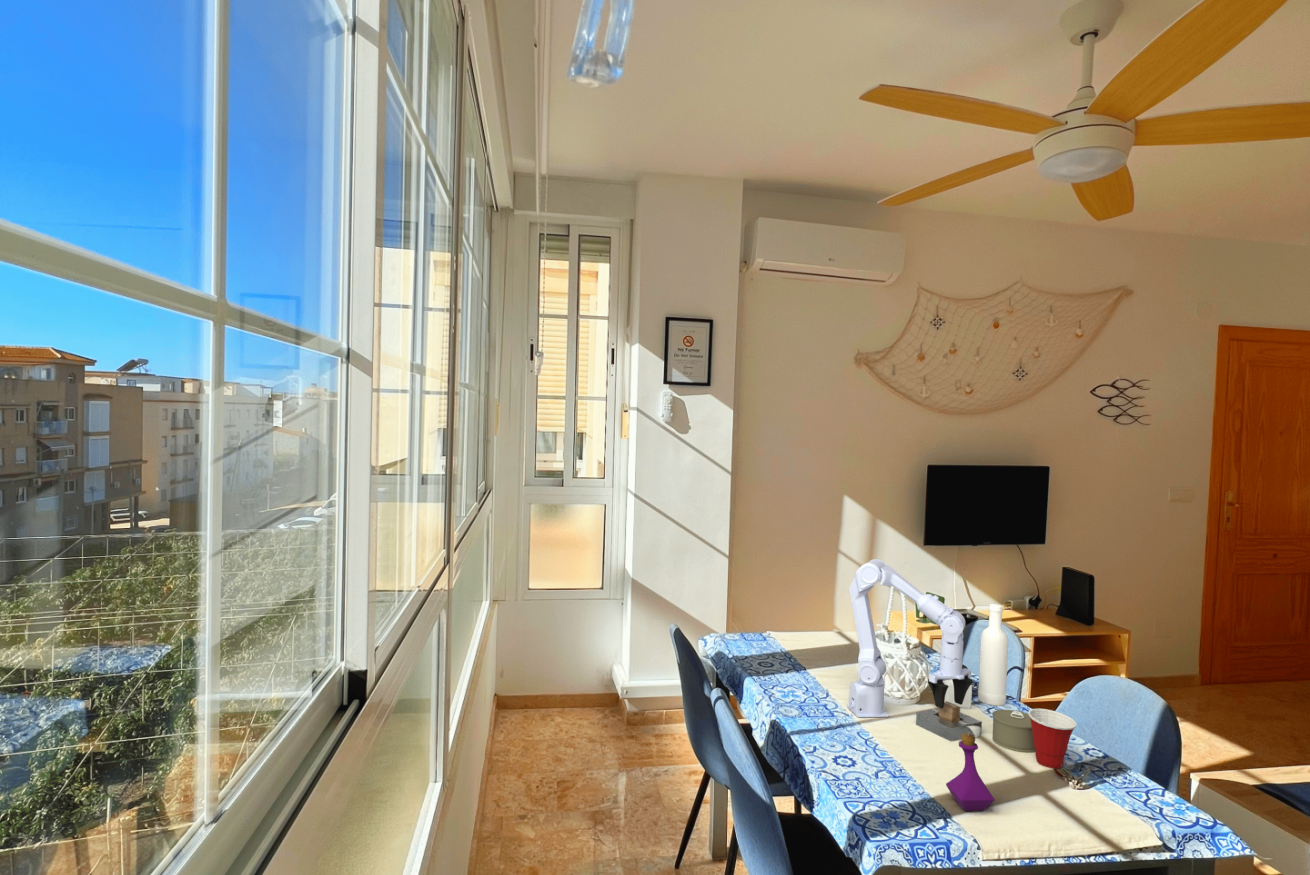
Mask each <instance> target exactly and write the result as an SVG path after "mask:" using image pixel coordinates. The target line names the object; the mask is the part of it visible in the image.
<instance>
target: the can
mask: <svg viewBox="0 0 1310 875" xmlns="http://www.w3.org/2000/svg"><path fill="white" fill-rule="evenodd" d="M1028 713H1029V712H1024V711H1019V710H1014V709H999V710H995V711H993V712H992V742H993V743H995V744H996V745H997V746H999V747H1001V748H1004V749H1006V750H1009V751H1013V752H1017V753H1025V754H1027V753H1029V754H1032V753H1035V748H1034V741H1033V733H1032V726H1031V720H1030V716H1029V714H1028Z"/></svg>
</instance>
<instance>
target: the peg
mask: <svg viewBox="0 0 1310 875" xmlns="http://www.w3.org/2000/svg"><path fill="white" fill-rule="evenodd" d="M938 708H939V707H938ZM960 712H961V708H960V707H959V706H957V705H955V704H952V703H950V702H947V701H946V702H944V706H943V708H939V717H941V718H943V719H945V720H947V721H950V722H952V723H953V722H957V721H960Z"/></svg>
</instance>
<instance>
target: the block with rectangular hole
mask: <svg viewBox="0 0 1310 875" xmlns="http://www.w3.org/2000/svg"><path fill="white" fill-rule="evenodd" d="M915 716H916V717H915V725H916V726H917V727H919V728H922V729H924V730H926V731H928V732H929V733H930V732H931V733H932V734H934V735H937V736H939V737H940V738H943V739H944V740H947V741H949V742H955V741H959V740H962V738H961V735H962V734H965V733H968V730H967V729H966V726H979V727H980V728H981V731H980V735H982V730H983V729H982V726H983V721H982V720H980V719H977V718H974V717H972V716H969V715H967V714H965V713H963V712H961V711H960V721H957V722H953V723H952V722H950V721H947V720H945V719H943V718H941V717H939V707H937V708H931V709H926V710H922V711H917V712H916V714H915ZM969 734H972V735H973V736H975V735H974V734H973V732H972V730H971V731H970V732H969Z"/></svg>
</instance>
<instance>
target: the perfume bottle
mask: <svg viewBox="0 0 1310 875" xmlns="http://www.w3.org/2000/svg"><path fill="white" fill-rule="evenodd" d="M966 729H967V730H968V733H965V734H962V735H961V738H962V739H961V740H960V741H959V742H958V747H959V748H961V750H962V751H963V753H964V754H963V755H964V766H963V769H962V771H961V772H960V773H959V774H957V776H955V777H954V778H952V779H951V780H949V781H948V782H946V783H945V786H946V787H947V789H948V791H949V793H950V795H951V796H952V797H953V800H954V801H955V803H956V804H957V805H958V806H959V807H960V808H961V809H962V810H963V811H964V812H983V811H985V810H986V809H987V808H988V807H989V806H990V805H991V804H992V803H994V802H995V801H996V800H995V798H994V796H993V795H992V793H991V791H990V790H989V789H988V788H989V787H987V786H986V784H985V782H984V781H983V779H982V777H981V776H980V775H979V772H978V769H977V766H976V762H975V751H976V750H978V749H979V746H978V744H977V743H976V739H979V738H980V731H981V728H980V727H979V726H966ZM971 730H972V732H973V734H974V735H975V736H973V735H972V734H969V732H970V731H971Z"/></svg>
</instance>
